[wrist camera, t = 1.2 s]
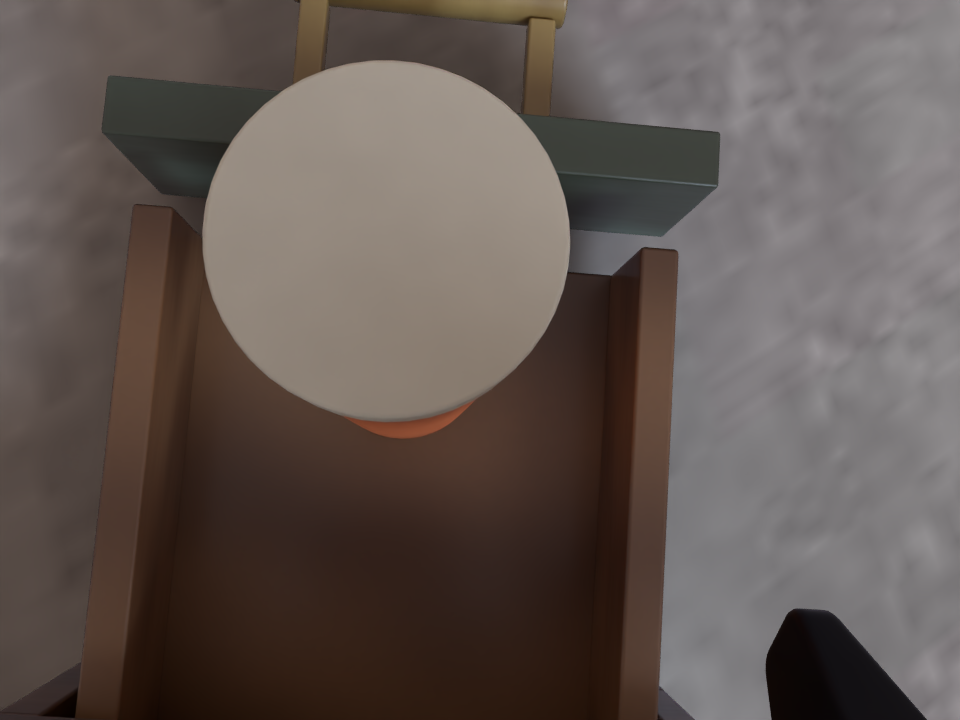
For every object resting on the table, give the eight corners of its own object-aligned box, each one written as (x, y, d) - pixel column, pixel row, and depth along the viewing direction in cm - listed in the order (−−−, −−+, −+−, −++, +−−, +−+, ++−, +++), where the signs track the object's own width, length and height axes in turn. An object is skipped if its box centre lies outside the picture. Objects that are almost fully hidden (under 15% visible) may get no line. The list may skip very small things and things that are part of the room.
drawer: (183, -12, 23) (130, -121, 19) (672, 36, 24) (728, -57, 19) (97, 765, 21) (15, 844, 16) (636, 790, 21) (691, 872, 17)
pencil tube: (491, 432, 21) (592, 399, 9) (330, 449, 21) (216, 438, 9) (475, 274, 21) (549, 45, 10) (315, 288, 21) (188, 72, 9)
